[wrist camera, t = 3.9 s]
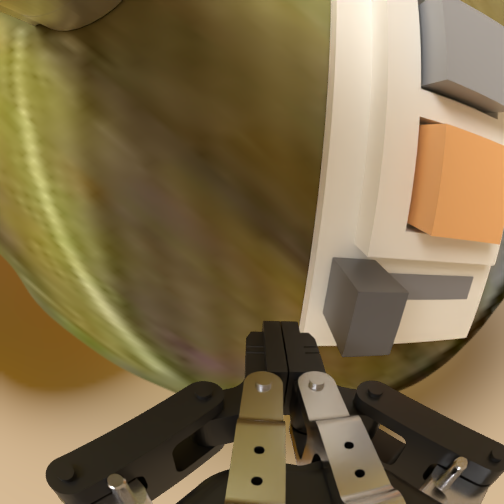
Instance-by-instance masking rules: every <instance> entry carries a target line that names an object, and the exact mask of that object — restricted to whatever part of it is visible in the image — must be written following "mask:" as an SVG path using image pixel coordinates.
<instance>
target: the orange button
mask: <svg viewBox="0 0 504 504" xmlns="http://www.w3.org/2000/svg"><path fill="white" fill-rule="evenodd" d="M407 223H409V224H410V225H412V226H414V227H416V228H418V229H420V230H421V231H423V232H425V233H427V234H429V235H431V236H436V237H445V238H453V239H461V240H469V241H477V242H485V243H492V244H500V242H501V237H502V233H503V228H504V145H501V144H499V143H497V142H494V141H492V140H489V139H487V138H484V137H482V136H479V135H477V134H474V133H471V132H469V131H466V130H463V129H460V128H458V127H455V126H452V125H449V124H426V125H419V135H418V146H417V157H416V166H415V174H414V182H413V189H412V196H411V202H410V209H409V214H408V220H407Z"/></svg>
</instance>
